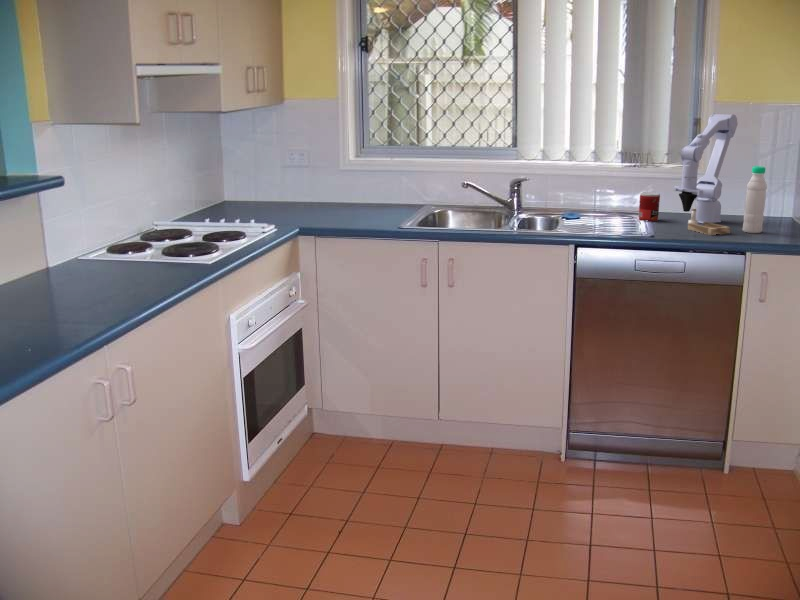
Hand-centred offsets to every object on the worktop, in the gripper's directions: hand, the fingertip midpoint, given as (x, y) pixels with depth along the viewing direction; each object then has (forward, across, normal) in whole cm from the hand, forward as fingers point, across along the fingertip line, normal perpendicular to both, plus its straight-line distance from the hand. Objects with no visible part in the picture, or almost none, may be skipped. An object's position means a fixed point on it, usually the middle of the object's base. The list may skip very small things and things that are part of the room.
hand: (686, 211), depth 348 cm
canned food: (+6, -18, -4) cm, 19 cm away
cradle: (+6, +12, 0) cm, 14 cm away
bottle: (+6, +4, 0) cm, 7 cm away
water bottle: (+6, +20, +15) cm, 26 cm away
